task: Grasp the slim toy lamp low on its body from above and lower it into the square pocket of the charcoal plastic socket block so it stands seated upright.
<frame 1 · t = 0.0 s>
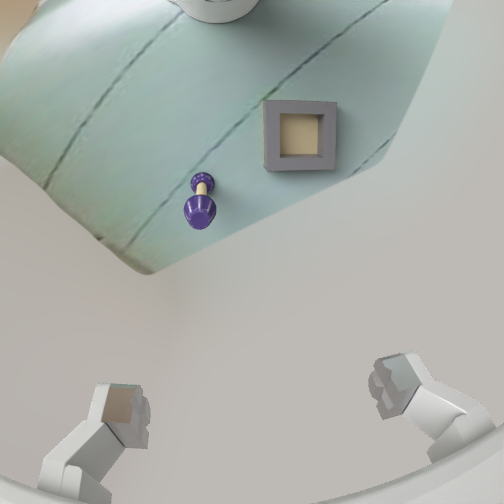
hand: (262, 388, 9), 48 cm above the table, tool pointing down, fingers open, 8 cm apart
toy lamp: (203, 184, 54), on the table
socket block: (295, 132, 51), on the table
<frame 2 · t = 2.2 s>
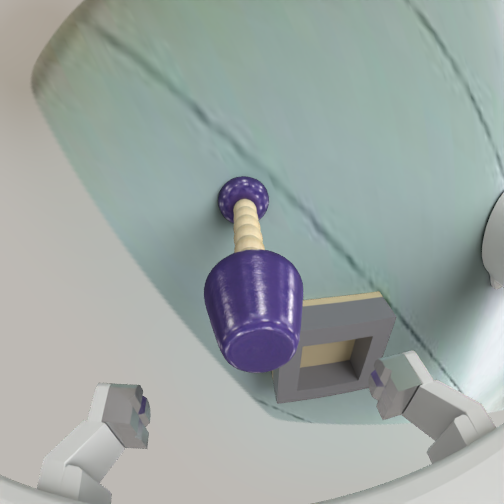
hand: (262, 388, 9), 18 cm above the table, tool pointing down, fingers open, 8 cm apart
toy lamp: (239, 200, 26), on the table
socket block: (323, 337, 34), on the table
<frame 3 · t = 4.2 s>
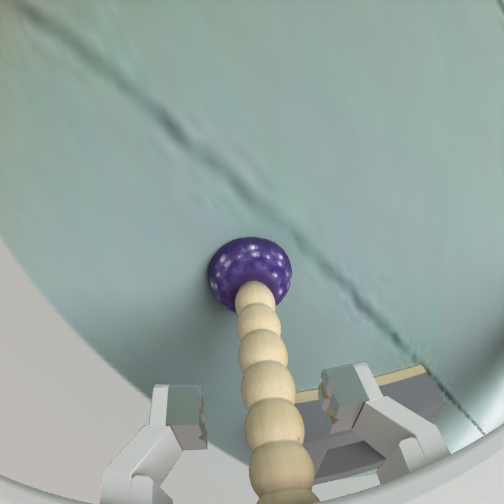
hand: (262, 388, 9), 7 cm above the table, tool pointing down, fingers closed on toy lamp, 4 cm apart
toy lamp: (242, 273, 16), on the table, touching gripper
socket block: (347, 417, 25), on the table
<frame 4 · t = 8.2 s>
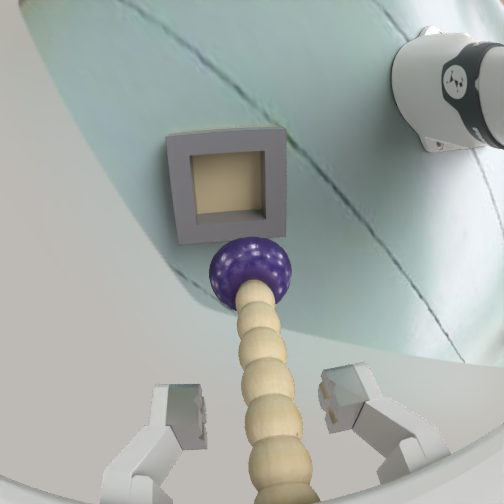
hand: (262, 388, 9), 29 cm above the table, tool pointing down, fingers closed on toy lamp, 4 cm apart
toy lamp: (243, 271, 16), point 21 cm above the table, touching gripper
socket block: (227, 178, 35), on the table
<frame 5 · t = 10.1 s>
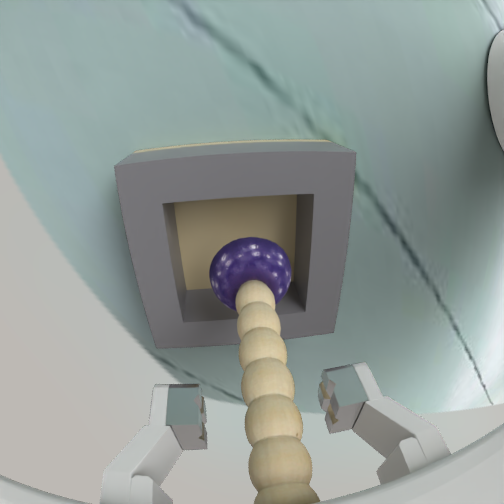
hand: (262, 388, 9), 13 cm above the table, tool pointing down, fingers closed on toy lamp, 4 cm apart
toy lamp: (243, 272, 16), point 5 cm above the table, touching gripper
socket block: (236, 230, 21), on the table
when the fingers open (9 cm above the table, at t = 12.0 s): toy lamp stays where it is, resting on socket block.
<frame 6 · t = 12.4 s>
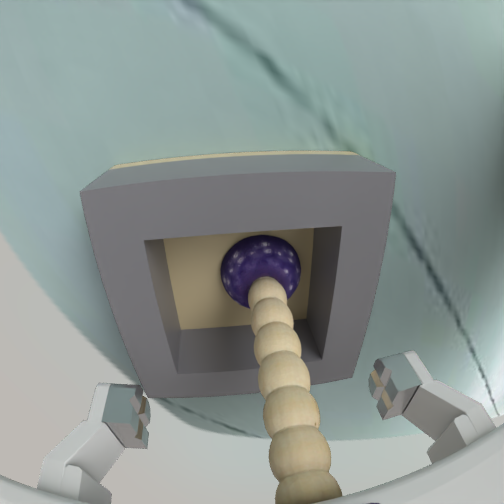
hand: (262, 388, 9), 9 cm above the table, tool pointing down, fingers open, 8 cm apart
toy lamp: (253, 269, 16), point 1 cm above the table, touching socket block
socket block: (239, 261, 17), on the table
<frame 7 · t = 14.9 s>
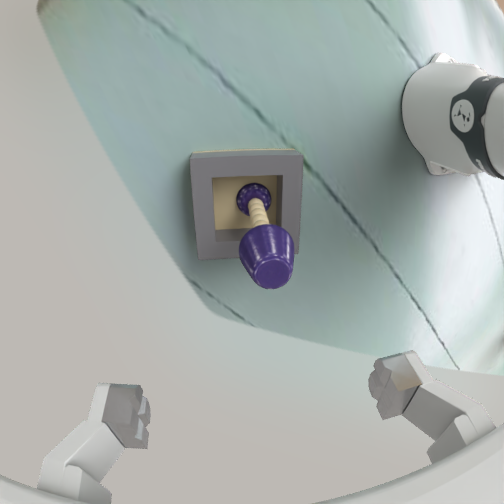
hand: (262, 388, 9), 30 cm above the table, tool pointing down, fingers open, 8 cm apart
toy lamp: (250, 199, 37), point 1 cm above the table, touching socket block
socket block: (244, 196, 38), on the table
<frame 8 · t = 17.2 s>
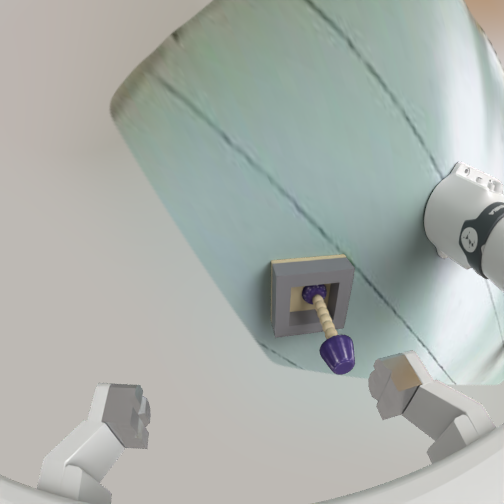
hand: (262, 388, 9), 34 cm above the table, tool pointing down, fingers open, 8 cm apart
toy lamp: (311, 291, 50), point 1 cm above the table, touching socket block
socket block: (306, 288, 50), on the table
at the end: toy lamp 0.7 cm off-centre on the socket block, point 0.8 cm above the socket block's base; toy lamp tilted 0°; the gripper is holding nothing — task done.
